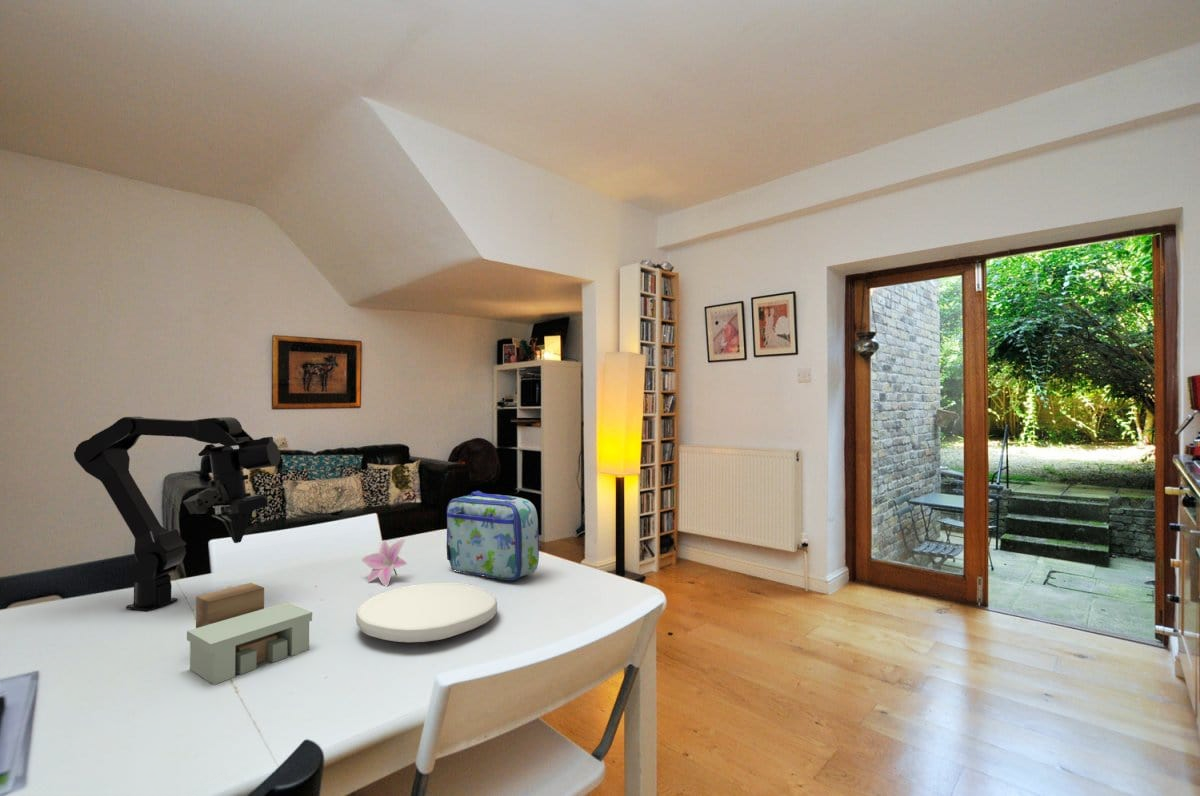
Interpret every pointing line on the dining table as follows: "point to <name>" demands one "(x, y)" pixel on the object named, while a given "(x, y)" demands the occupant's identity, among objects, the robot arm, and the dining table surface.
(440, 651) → the dining table surface
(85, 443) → the robot arm
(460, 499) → the lunch box
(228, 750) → the dining table surface
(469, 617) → the cream round disc
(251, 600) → the rectangular block
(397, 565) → the lily
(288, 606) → the green miniature desk
